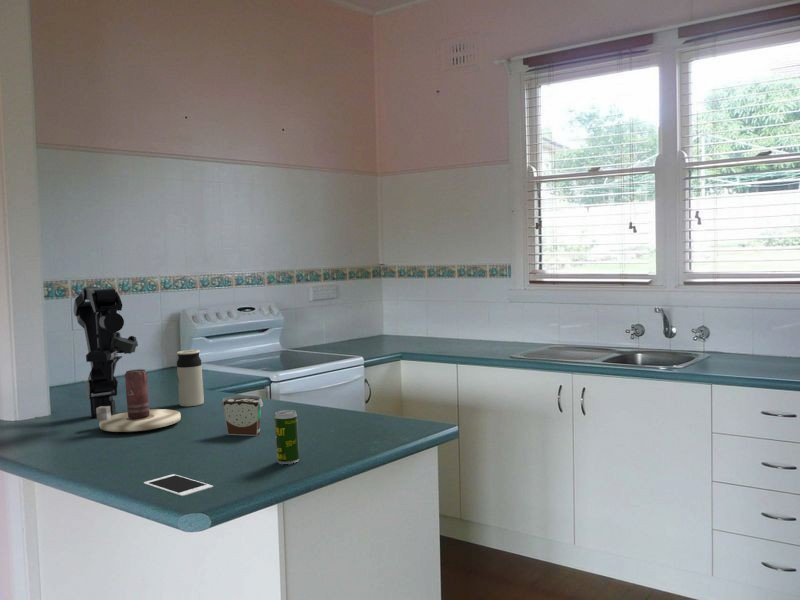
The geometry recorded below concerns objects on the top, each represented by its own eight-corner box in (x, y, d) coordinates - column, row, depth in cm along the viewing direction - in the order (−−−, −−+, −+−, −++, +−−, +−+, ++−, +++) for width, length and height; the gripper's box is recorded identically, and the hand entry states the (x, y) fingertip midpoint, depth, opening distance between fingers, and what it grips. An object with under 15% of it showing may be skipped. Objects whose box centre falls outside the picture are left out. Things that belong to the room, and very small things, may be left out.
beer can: (289, 457, 193) (286, 408, 192) (304, 460, 190) (301, 411, 189) (272, 462, 189) (269, 413, 188) (287, 466, 186) (284, 415, 185)
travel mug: (207, 401, 270) (204, 349, 269) (199, 406, 263) (195, 352, 261) (184, 402, 271) (181, 350, 270) (175, 407, 263) (172, 353, 262)
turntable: (82, 433, 225) (81, 415, 225) (114, 415, 248) (113, 399, 248) (166, 430, 224) (165, 412, 224) (190, 412, 247) (189, 396, 247)
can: (143, 419, 232) (140, 371, 231) (124, 419, 234) (120, 372, 233) (154, 414, 238) (150, 368, 237) (135, 414, 240) (131, 368, 239)
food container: (272, 430, 223) (270, 395, 222) (262, 436, 217) (260, 399, 216) (234, 429, 227) (232, 394, 226) (222, 434, 221) (220, 399, 220)
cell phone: (182, 498, 166) (182, 495, 166) (142, 485, 177) (142, 482, 177) (214, 488, 172) (213, 485, 172) (173, 476, 183) (173, 473, 183)
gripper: (121, 332, 232) (124, 385, 233) (143, 325, 250) (147, 374, 251) (83, 333, 232) (87, 386, 233) (108, 327, 251) (112, 376, 252)
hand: (110, 380), depth 242 cm, fingers closed
